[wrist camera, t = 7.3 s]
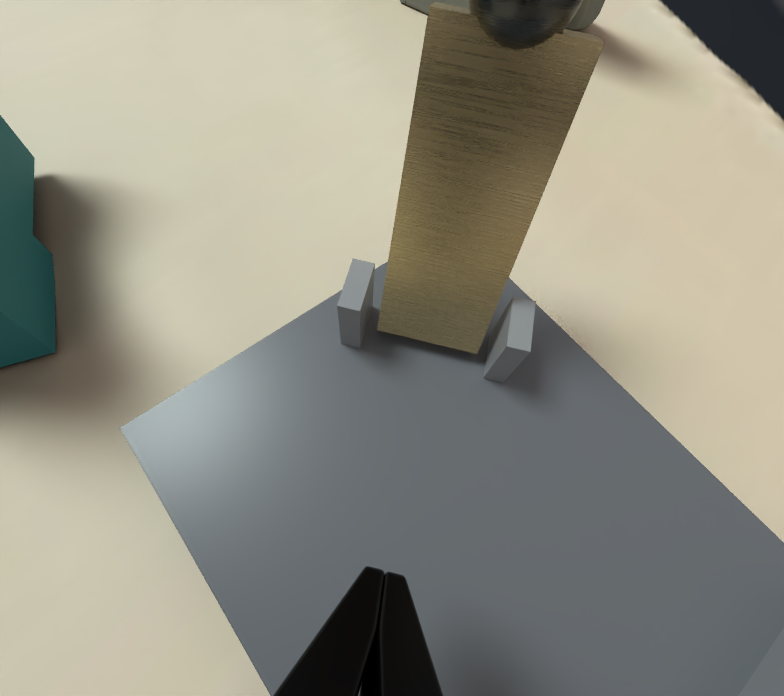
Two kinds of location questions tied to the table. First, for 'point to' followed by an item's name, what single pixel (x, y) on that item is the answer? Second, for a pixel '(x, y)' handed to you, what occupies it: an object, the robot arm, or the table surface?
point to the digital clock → (581, 20)
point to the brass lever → (479, 159)
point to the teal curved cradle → (22, 261)
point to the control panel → (466, 508)
